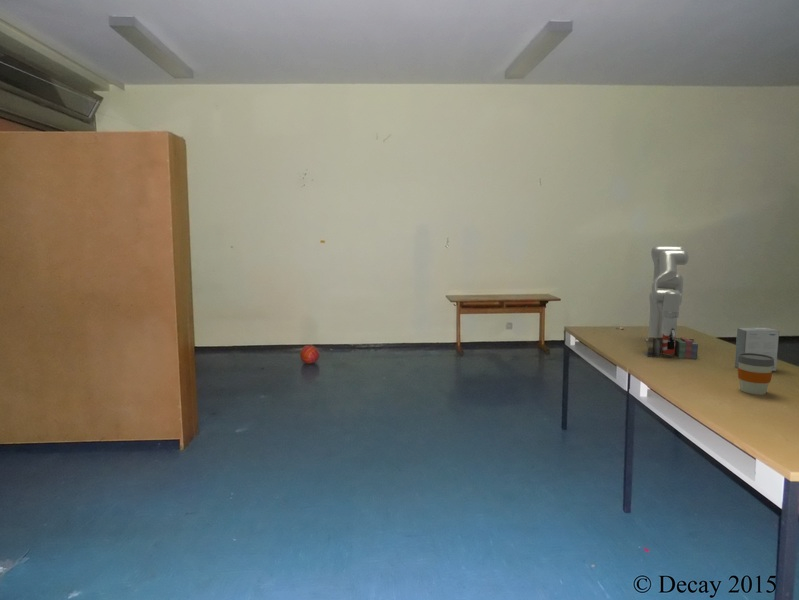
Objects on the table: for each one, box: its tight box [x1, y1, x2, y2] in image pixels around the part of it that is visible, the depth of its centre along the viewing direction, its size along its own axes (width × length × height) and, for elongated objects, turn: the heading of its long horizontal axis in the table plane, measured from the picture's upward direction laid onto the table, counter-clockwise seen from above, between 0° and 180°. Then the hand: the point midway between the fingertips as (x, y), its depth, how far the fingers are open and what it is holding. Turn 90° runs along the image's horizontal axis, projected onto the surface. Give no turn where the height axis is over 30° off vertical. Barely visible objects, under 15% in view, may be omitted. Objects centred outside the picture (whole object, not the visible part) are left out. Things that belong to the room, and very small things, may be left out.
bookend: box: [642, 337, 660, 358], centre depth 275 cm, size 10×6×9 cm, turn 168°
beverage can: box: [662, 334, 677, 356], centre depth 270 cm, size 6×6×12 cm
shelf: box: [646, 336, 699, 360], centre depth 274 cm, size 11×23×10 cm, turn 78°
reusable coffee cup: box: [737, 353, 774, 396], centre depth 210 cm, size 13×13×15 cm
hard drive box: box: [734, 327, 780, 372], centre depth 245 cm, size 16×8×20 cm, turn 84°
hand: (668, 347), depth 270 cm, fingers closed on beverage can, 6 cm apart
